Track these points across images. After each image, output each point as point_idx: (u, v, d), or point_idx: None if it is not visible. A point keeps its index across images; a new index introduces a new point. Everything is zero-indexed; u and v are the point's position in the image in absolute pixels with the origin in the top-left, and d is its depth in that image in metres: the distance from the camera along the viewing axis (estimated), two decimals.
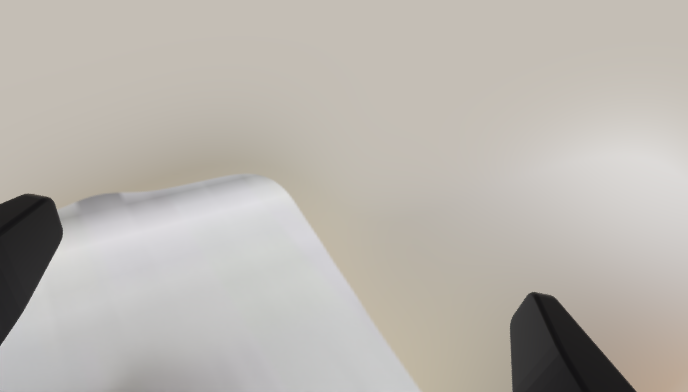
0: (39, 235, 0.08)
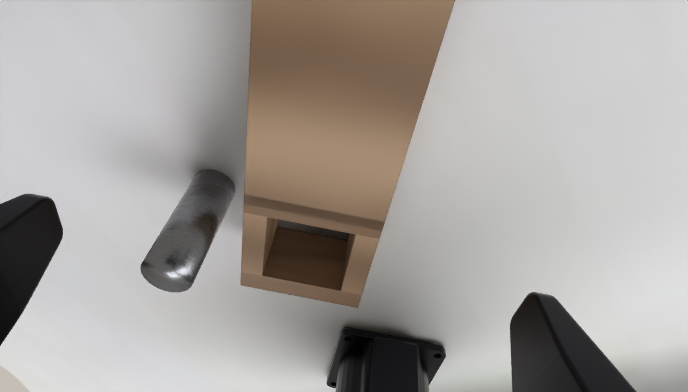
0: (39, 235, 0.08)
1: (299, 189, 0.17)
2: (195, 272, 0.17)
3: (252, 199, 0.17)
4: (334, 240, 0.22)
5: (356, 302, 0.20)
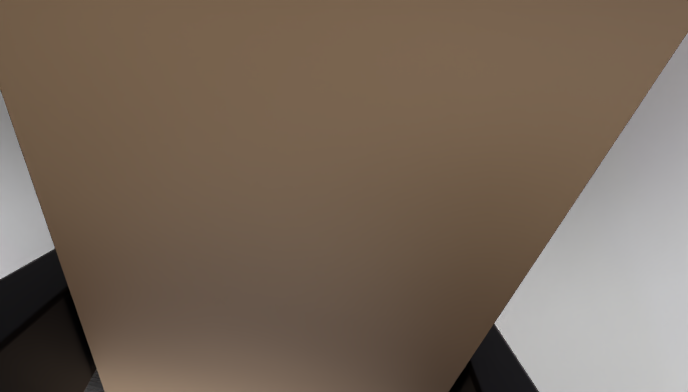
0: None
1: None
2: None
3: None
4: None
5: None
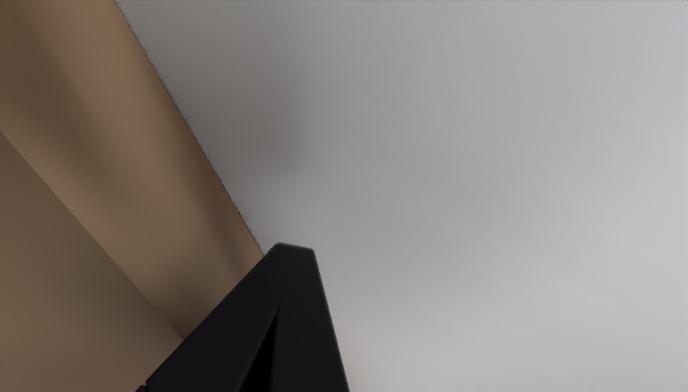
0: None
1: None
2: None
3: None
4: None
5: None
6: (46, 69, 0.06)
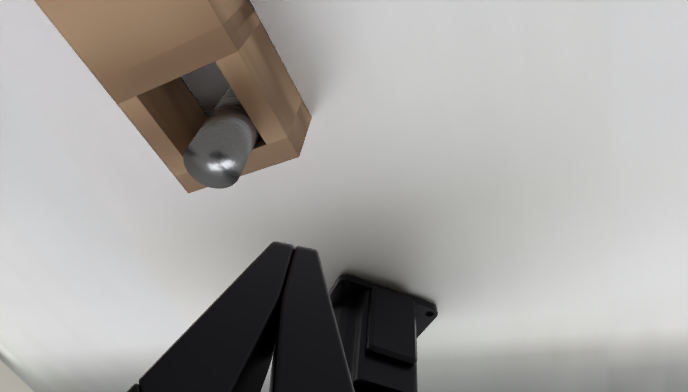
0: None
1: (128, 42, 0.15)
2: (242, 168, 0.16)
3: (110, 84, 0.16)
4: None
5: (292, 150, 0.17)
6: None
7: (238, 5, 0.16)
